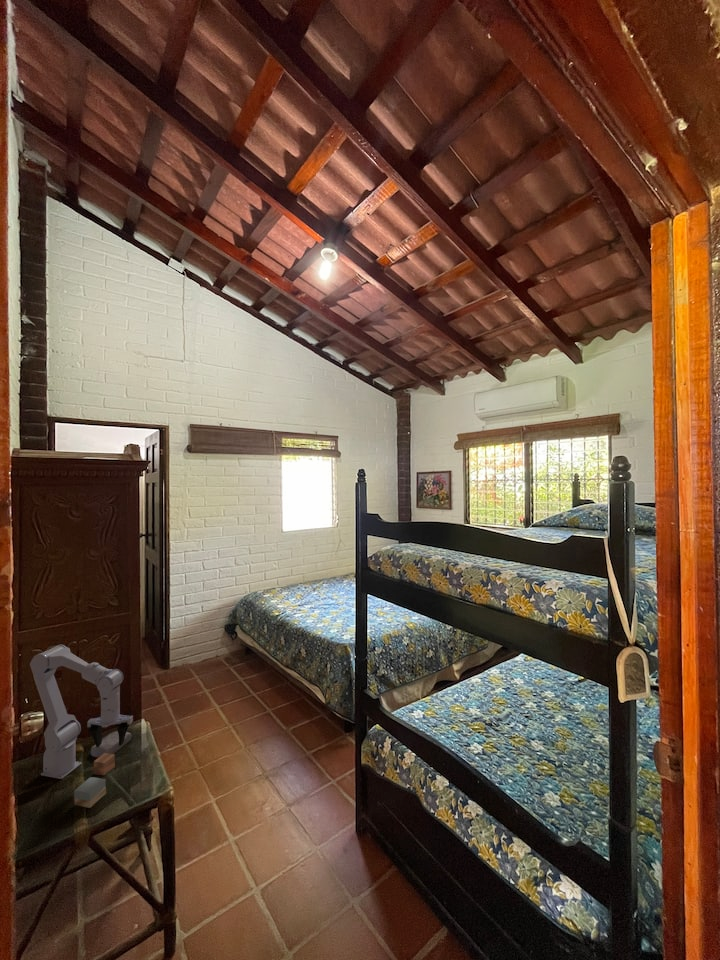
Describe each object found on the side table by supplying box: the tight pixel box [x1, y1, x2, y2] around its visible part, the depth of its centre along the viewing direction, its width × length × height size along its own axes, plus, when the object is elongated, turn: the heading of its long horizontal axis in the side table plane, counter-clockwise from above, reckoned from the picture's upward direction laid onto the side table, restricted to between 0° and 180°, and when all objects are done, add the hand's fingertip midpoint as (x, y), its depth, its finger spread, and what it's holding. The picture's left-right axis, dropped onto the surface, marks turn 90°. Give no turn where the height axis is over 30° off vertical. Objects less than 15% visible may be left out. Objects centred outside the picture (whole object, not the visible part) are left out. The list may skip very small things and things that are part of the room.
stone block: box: [90, 730, 132, 758], centre depth 153 cm, size 12×5×10 cm
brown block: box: [74, 787, 107, 809], centre depth 128 cm, size 6×6×2 cm
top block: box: [73, 776, 107, 801], centre depth 128 cm, size 6×6×2 cm
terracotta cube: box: [93, 753, 116, 776], centre depth 141 cm, size 4×4×4 cm
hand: (110, 744), depth 139 cm, fingers open, 7 cm apart
